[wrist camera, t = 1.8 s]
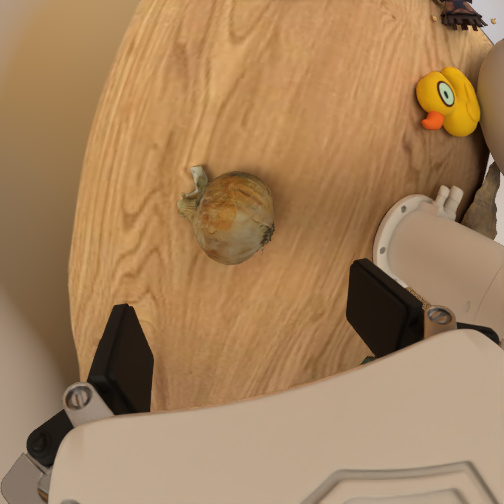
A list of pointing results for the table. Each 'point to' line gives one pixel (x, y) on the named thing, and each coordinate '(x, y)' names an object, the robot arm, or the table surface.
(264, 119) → the table surface
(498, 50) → the sphere
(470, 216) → the stone tool
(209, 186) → the onion
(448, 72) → the duckling
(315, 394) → the robot arm
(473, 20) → the figurine
